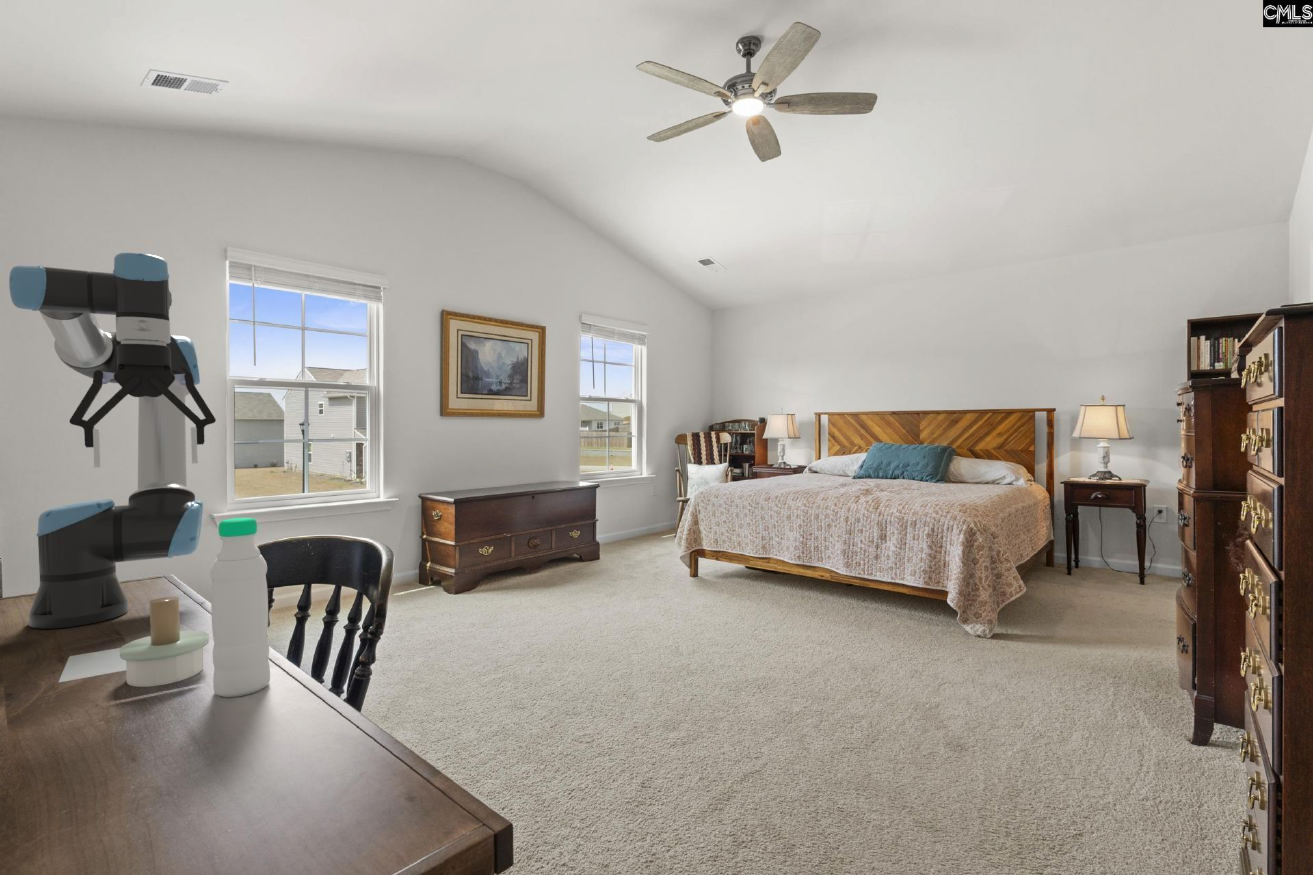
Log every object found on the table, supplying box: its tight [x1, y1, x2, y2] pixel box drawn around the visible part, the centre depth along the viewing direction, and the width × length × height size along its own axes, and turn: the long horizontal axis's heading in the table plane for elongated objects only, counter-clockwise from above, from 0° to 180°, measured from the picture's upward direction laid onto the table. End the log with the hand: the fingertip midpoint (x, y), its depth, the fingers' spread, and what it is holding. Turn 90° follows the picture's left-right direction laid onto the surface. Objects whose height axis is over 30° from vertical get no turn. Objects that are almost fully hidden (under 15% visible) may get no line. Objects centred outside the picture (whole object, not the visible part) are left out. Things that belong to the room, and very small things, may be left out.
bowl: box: [125, 647, 204, 688], centre depth 102 cm, size 9×9×4 cm
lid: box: [119, 596, 210, 661], centre depth 102 cm, size 11×11×8 cm
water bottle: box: [209, 517, 271, 698], centre depth 97 cm, size 7×7×25 cm
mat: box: [58, 647, 126, 684], centre depth 109 cm, size 14×14×1 cm
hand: (147, 465), depth 117 cm, fingers open, 13 cm apart
